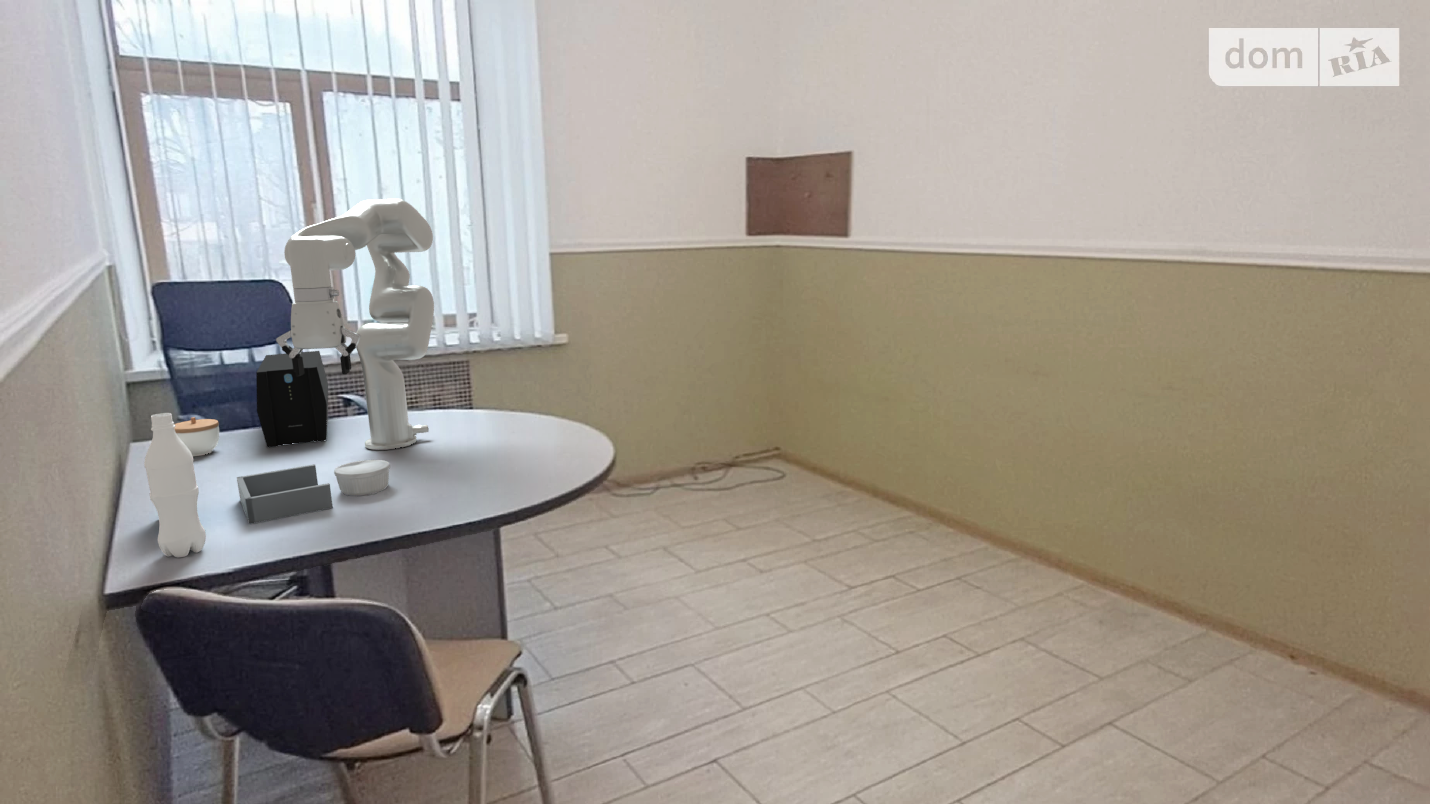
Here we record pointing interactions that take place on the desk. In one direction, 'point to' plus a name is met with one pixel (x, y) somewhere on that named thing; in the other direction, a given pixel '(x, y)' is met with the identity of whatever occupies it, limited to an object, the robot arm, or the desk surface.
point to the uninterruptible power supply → (292, 399)
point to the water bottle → (173, 489)
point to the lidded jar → (198, 435)
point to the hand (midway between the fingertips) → (323, 374)
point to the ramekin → (363, 477)
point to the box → (283, 493)
